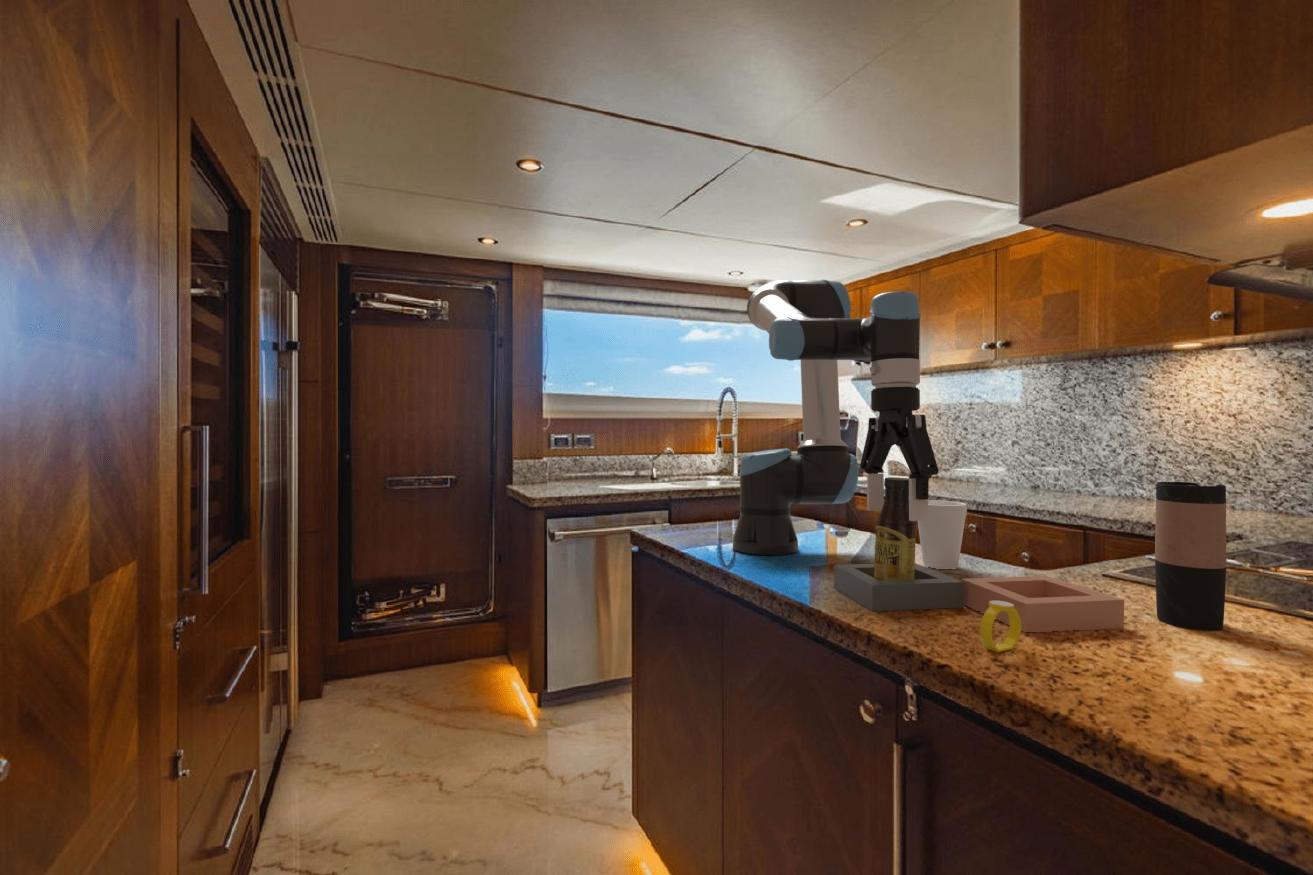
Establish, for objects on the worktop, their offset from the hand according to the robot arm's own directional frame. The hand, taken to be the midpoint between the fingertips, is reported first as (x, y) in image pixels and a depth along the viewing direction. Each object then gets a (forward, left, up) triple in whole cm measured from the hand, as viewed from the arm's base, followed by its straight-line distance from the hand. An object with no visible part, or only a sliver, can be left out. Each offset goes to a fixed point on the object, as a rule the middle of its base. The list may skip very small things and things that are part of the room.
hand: (895, 515), depth 99 cm
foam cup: (-20, +21, -14) cm, 32 cm away
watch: (+24, +1, -14) cm, 27 cm away
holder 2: (+12, +16, -14) cm, 24 cm away
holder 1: (0, 0, -14) cm, 14 cm away
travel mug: (+18, +35, -14) cm, 42 cm away
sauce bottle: (0, 0, -14) cm, 14 cm away
